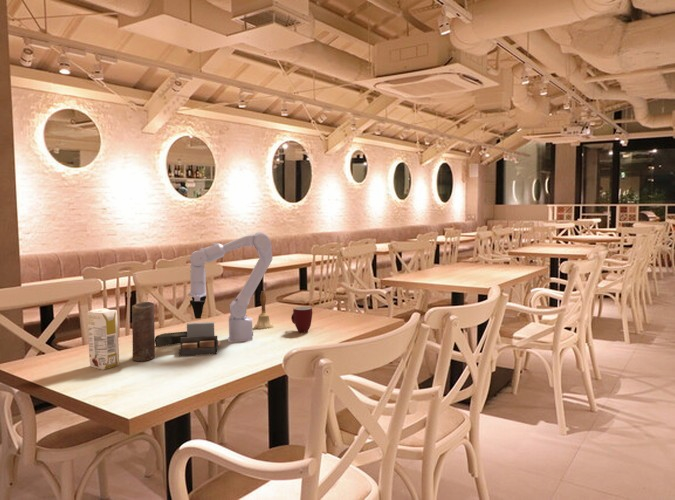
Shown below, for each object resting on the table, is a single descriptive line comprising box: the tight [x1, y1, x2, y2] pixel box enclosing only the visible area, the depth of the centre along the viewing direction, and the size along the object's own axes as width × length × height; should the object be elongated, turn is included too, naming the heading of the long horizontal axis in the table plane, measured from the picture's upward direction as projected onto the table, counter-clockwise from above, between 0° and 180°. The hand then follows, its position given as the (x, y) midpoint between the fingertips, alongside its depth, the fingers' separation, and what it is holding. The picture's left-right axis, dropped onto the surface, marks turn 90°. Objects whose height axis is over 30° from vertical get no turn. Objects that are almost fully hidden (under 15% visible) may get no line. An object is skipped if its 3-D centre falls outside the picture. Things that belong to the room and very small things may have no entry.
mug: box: [291, 305, 313, 334], centre depth 226 cm, size 11×8×10 cm
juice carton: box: [87, 307, 120, 371], centre depth 178 cm, size 8×9×19 cm
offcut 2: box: [200, 340, 214, 348], centre depth 192 cm, size 5×2×4 cm, turn 100°
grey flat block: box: [186, 321, 216, 337], centre depth 204 cm, size 10×2×8 cm, turn 100°
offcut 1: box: [182, 343, 197, 349], centre depth 191 cm, size 5×2×4 cm, turn 100°
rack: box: [178, 335, 219, 357], centre depth 194 cm, size 13×11×6 cm
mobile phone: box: [155, 330, 187, 348], centre depth 205 cm, size 5×3×15 cm
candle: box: [131, 301, 156, 363], centre depth 184 cm, size 8×7×20 cm
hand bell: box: [253, 290, 274, 330], centre depth 235 cm, size 8×8×16 cm
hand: (198, 316), depth 207 cm, fingers open, 7 cm apart
